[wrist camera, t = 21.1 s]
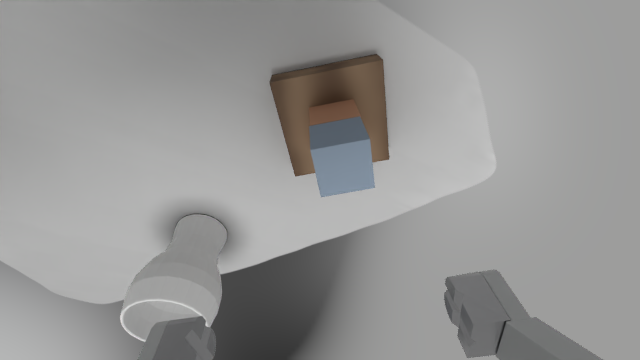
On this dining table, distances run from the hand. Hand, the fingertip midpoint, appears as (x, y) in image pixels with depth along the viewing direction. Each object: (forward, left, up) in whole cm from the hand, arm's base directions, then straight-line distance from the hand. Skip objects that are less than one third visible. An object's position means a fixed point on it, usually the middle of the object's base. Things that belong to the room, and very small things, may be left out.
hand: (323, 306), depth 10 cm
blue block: (+2, -5, -21) cm, 22 cm away
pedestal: (+2, -5, -29) cm, 30 cm away
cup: (-21, -20, -29) cm, 41 cm away
